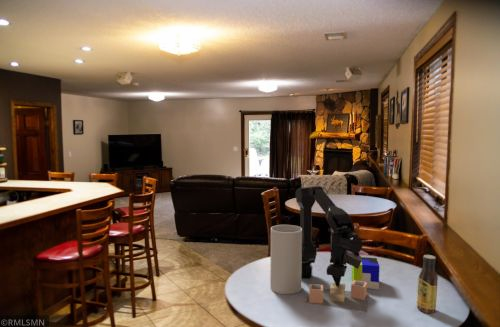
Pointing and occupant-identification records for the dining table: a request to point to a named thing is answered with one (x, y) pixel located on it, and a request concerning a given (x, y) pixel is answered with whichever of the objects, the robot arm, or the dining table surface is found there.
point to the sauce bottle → (427, 285)
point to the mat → (347, 304)
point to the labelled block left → (316, 293)
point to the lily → (361, 253)
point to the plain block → (337, 292)
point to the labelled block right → (359, 290)
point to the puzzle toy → (367, 272)
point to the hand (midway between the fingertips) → (337, 285)
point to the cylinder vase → (286, 259)
